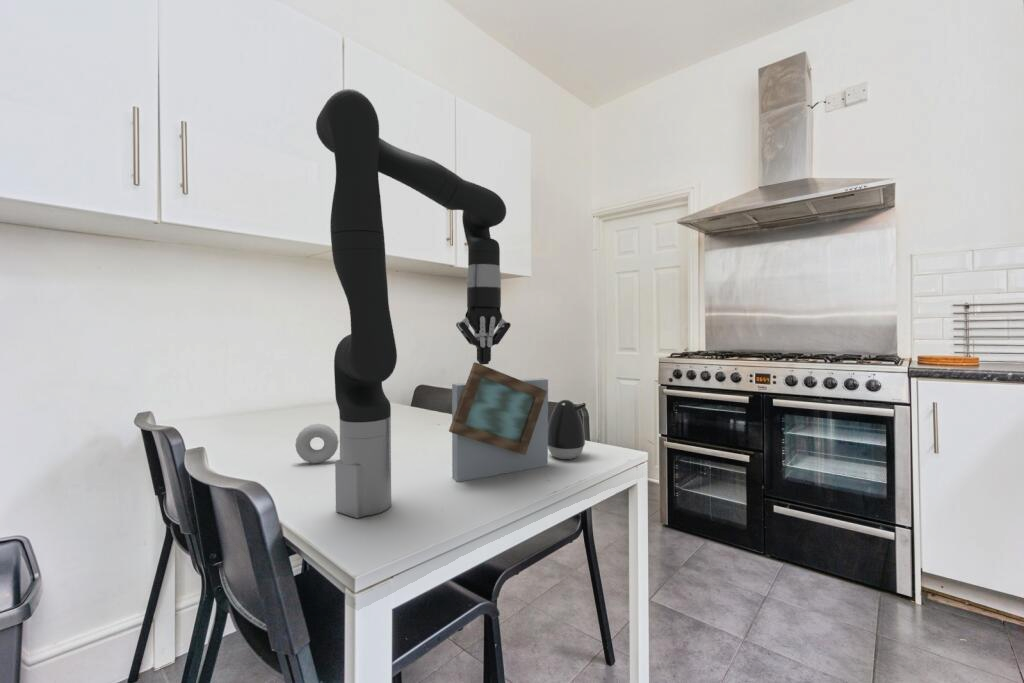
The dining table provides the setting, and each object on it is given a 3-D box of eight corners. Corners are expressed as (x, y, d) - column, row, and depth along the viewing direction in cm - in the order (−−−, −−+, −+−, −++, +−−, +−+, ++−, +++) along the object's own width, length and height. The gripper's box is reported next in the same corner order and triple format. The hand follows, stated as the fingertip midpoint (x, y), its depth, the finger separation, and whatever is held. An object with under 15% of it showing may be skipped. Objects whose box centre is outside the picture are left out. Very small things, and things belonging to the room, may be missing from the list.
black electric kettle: (588, 462, 112) (589, 403, 112) (547, 462, 112) (548, 403, 112) (582, 451, 122) (582, 396, 122) (544, 451, 122) (545, 396, 122)
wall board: (457, 481, 98) (457, 385, 97) (452, 477, 101) (452, 383, 100) (547, 465, 110) (548, 379, 109) (541, 462, 112) (541, 378, 112)
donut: (294, 466, 108) (293, 426, 108) (297, 462, 112) (296, 423, 111) (337, 463, 111) (337, 424, 110) (339, 459, 114) (339, 421, 114)
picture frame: (451, 432, 95) (476, 362, 97) (448, 431, 96) (473, 362, 99) (525, 455, 104) (547, 390, 106) (522, 453, 105) (543, 390, 108)
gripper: (462, 283, 92) (463, 366, 93) (518, 286, 98) (517, 364, 99) (449, 286, 99) (450, 364, 99) (502, 289, 105) (502, 361, 106)
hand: (483, 364), depth 99 cm, fingers closed
